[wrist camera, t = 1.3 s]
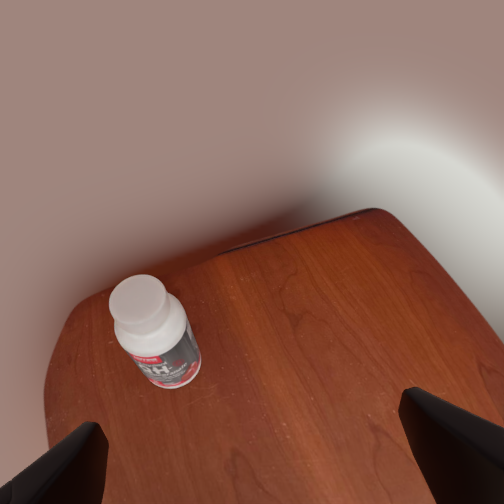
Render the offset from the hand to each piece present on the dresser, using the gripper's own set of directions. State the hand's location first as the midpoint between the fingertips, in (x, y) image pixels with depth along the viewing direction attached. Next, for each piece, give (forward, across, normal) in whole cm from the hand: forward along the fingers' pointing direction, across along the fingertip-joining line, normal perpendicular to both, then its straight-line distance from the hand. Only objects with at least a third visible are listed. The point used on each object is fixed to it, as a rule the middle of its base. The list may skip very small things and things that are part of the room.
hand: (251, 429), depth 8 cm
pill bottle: (+17, +7, +9) cm, 21 cm away
